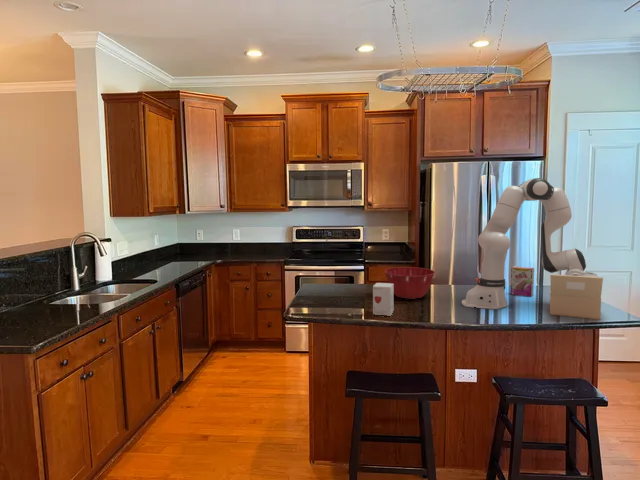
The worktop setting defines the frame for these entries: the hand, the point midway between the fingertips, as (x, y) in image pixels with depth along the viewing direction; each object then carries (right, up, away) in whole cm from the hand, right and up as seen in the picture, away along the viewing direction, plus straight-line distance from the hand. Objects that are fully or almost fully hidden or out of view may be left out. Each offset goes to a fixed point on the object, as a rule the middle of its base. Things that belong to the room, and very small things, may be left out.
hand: (575, 284), depth 187 cm
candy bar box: (0, -12, +49) cm, 50 cm away
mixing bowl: (-65, -13, +52) cm, 84 cm away
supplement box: (-85, -17, +17) cm, 88 cm away
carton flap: (-1, -1, -2) cm, 3 cm away
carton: (+6, -15, +10) cm, 19 cm away
